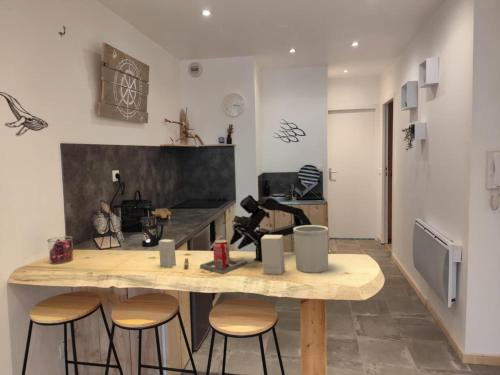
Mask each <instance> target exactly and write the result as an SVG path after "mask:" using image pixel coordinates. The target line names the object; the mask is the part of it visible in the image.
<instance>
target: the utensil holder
mask: <svg viewBox="0 0 500 375" xmlns="http://www.w3.org/2000/svg"><path fill="white" fill-rule="evenodd" d="M293 232H294V236H293V240H294V257H295V258H294V259H295V269H296V270H297V271H299V272H303V273H311V274H314V273H315V274H316V273H323V272H324V271H327V270H328V268H329V237H328V235H329V227H327V226H325V225H316V224H312V225H305V226H298V227H295V228H293Z"/></svg>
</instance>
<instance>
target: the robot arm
mask: <svg viewBox="0 0 500 375" xmlns="http://www.w3.org/2000/svg"><path fill="white" fill-rule="evenodd" d="M239 206H240V207H241V208H242V209H243V210H244V211H245V212H246V213H248V214H251V215H250V216H244V215H242V216H239V215H234V218H233V220H232V222H234V224H233V225H232V226H231V227H232V231H233V234H232V237H231V239H230V241H229V245H231V246H232V245H233V244H235V243H236V242H238V241H239V240H240V239H241V240H240V242H239V244H238V246H237V249H238V250H241V249H242V248H245V247H246V246H248V245H251V244H253V246H255V258H253V260H254V261H259V262H262V247H261V238H262V237H263V236H264V235H283V237H286V236H291V235H293V234H294V232H293V228H295V227H298V226H305V225H313V224H312V222H311V221H310V218H309V217H308V216H307V215H306V213H305V212H304V210H303V209H302V208H301V207H295V206H292V205H287V204H285V203H281V202H279V201H278V200H276V199H275V198H272V197H266V196H263V197H261V198H260V199H258V200H256V199H255V198H254V197H253V195H251V194H248V195H247V196H246V197H244V198H242V200H241V201H240V202H239ZM266 210H267V211H266ZM269 211H278V212H282V213H285V214H289V215H292V216H293V217H292V218H293V223H292V224H290V225H286V226H283V227H278V228H274V229H271V230H270V229H267V228H264V227H263V228H260V227H261V225H260V224H261V223H262V221H263V220H264V219H265V218H267V219H270V218H271V217H270V212H269ZM257 228H259V229H257Z"/></svg>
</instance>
